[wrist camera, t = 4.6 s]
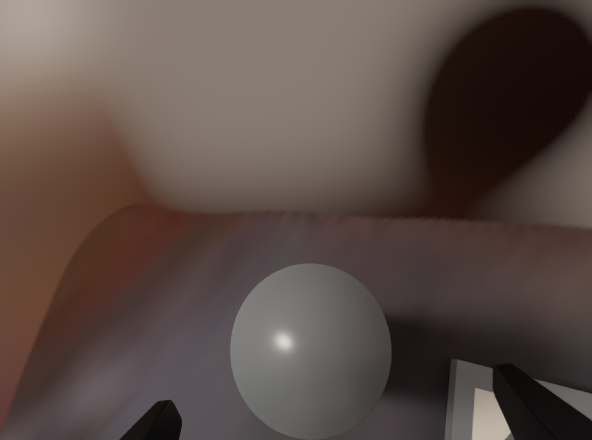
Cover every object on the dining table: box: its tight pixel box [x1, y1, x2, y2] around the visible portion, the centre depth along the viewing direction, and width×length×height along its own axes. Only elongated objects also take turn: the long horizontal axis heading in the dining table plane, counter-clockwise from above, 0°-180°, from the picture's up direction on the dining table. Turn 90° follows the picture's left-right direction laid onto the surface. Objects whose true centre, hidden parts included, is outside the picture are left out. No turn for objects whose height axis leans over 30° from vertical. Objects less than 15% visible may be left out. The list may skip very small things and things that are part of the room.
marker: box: [230, 264, 392, 440], centre depth 13 cm, size 4×4×10 cm
